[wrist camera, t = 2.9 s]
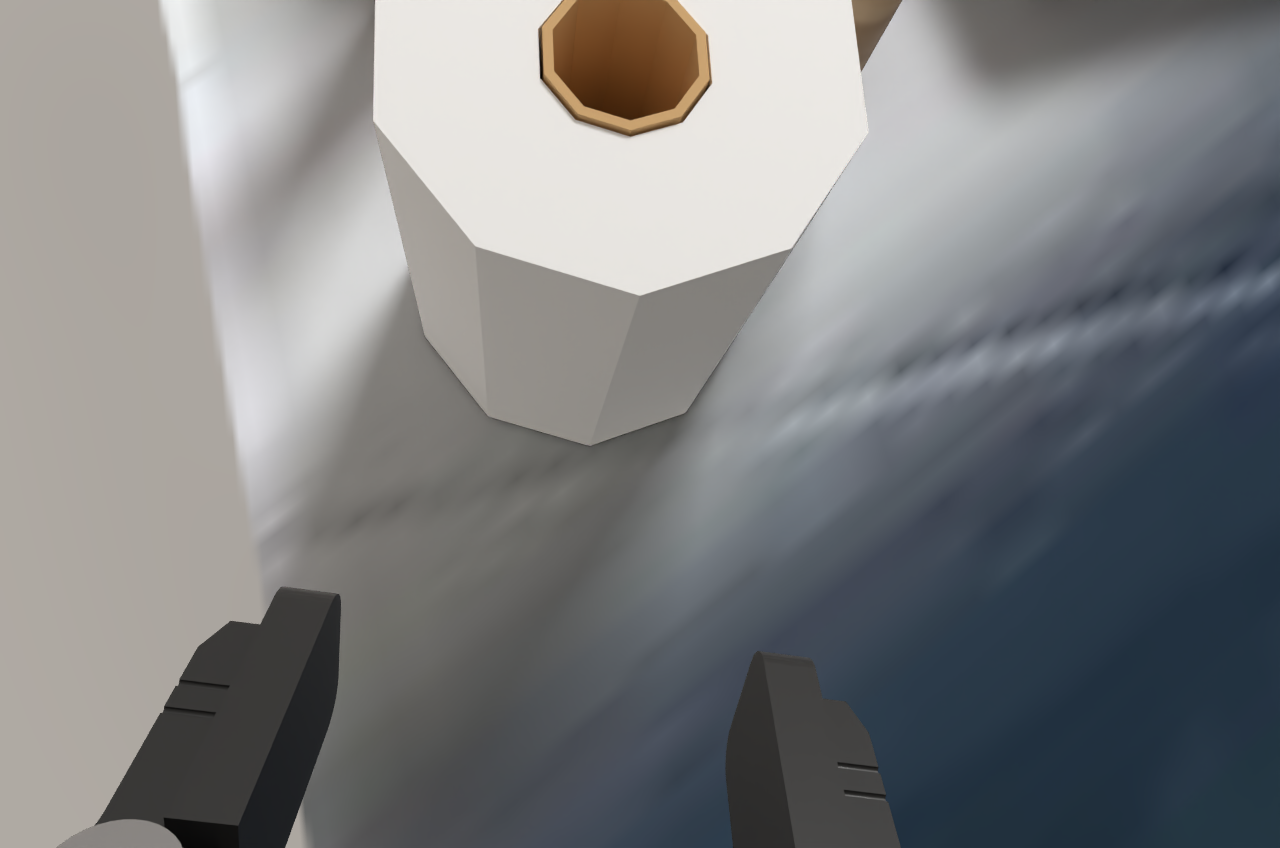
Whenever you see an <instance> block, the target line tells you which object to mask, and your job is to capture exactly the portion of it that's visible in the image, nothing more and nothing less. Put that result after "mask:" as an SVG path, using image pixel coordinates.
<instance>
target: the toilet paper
mask: <svg viewBox="0 0 1280 848" xmlns="http://www.w3.org/2000/svg"><path fill="white" fill-rule="evenodd" d="M373 122H374V126H375V130H376V135H377V139H378V143H379V147H380V151H381V156H382V160H383V164H384V168H385V172H386V176H387V181H388V185H389V189H390V193H391V197H392V201H393V206H394V210H395V214H396V218H397V222H398V226H399V231H400V235H401V239H402V243H403V247H404V251H405V256H406V260H407V264H408V268H409V272H410V276H411V281H412V285H413V289H414V293H415V297H416V302H417V306H418V310H419V314H420V318H421V322H422V327H423V331H424V335H425V337H426V338H427V340H428V341H429V342H430V343H431V345H432V346H433V347H434V349H435V350H436V351H437V352H438V354H439V355H440V356H441V357H442V359H443V360H444V361H445V362H446V364H447V365H448V366H449V368H450V369H451V370H452V371H453V373H454V374H455V375H456V376H457V378H458V379H459V380H460V381H461V383H462V384H463V385H464V387H465V388H466V389H467V390H468V392H469V393H470V394H471V395H472V397H473V398H474V399H475V400H476V402H477V403H478V404H479V406H480V407H481V408H482V409H483V411H484V412H485V413H486V414H487V416H488V417H492V418H495V419H498V420H502V421H505V422H509V423H512V424H516V425H519V426H523V427H526V428H529V429H533V430H536V431H540V432H543V433H547V434H550V435H554V436H557V437H560V438H564V439H567V440H571V441H574V442H578V443H581V444H584V445H588V446H591V445H594V444H597V443H600V442H602V441H605V440H608V439H611V438H614V437H617V436H620V435H623V434H626V433H629V432H632V431H634V430H637V429H640V428H643V427H646V426H649V425H652V424H655V423H658V422H661V421H664V420H666V419H669V418H672V417H675V416H678V415H681V414H684V413H686V411H687V410H688V408H689V407H690V405H691V404H692V402H693V401H694V399H695V398H696V396H697V395H698V393H699V392H700V390H701V389H702V387H703V386H704V384H705V383H706V381H707V380H708V378H709V377H710V375H711V374H712V372H713V371H714V369H715V368H716V366H717V365H718V363H719V362H720V360H721V359H722V357H723V356H724V354H725V353H726V351H727V350H728V348H729V347H730V345H731V343H732V342H733V340H734V339H735V337H736V336H737V334H738V333H739V331H740V330H741V328H742V327H743V325H744V324H745V322H746V321H747V319H748V317H749V316H750V314H751V313H752V311H753V310H754V308H755V307H756V305H757V304H758V302H759V301H760V299H761V297H762V296H763V294H764V293H765V291H766V290H767V288H768V287H769V285H770V284H771V282H772V281H773V279H774V277H775V276H776V274H777V273H778V271H779V270H780V268H781V267H782V265H783V264H784V262H785V260H786V259H787V257H788V256H789V254H790V253H791V251H792V250H793V248H794V247H795V245H796V244H797V242H798V240H799V239H800V237H801V236H802V234H803V233H804V231H805V230H806V228H807V227H808V225H809V223H810V222H811V220H812V219H813V217H814V216H815V214H816V213H817V211H818V210H819V208H820V207H821V205H822V203H823V202H824V200H825V199H826V197H827V196H828V194H829V193H830V191H831V190H832V188H833V187H834V185H835V183H836V182H837V180H838V179H839V177H840V176H841V174H842V173H843V171H844V170H845V168H846V166H847V165H848V163H849V162H850V160H851V159H852V157H853V156H854V154H855V153H856V151H857V150H858V148H859V146H860V145H861V143H862V142H863V140H864V139H865V137H866V136H867V134H868V133H869V131H868V124H867V116H866V108H865V101H864V93H863V85H862V78H861V70H860V62H859V55H858V47H857V39H856V32H855V24H854V16H853V9H852V1H851V0H375V39H374V96H373Z"/></svg>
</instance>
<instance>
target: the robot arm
mask: <svg viewBox="0 0 1280 848" xmlns="http://www.w3.org/2000/svg"><path fill="white" fill-rule="evenodd" d="M340 617H341V599H340V595H339V594H335V593H327V592H320V591H312V590H305V589H297V588H290V587H281V588H280V589H279V590H278V591H277V593H276V595H275V596H274V598H273V600H272V602H271V604H270V606H269V608H268V610H267V612H266V614H265V616H264V618H263V620H262V622H261V624H260V625H259V624H250V623H243V622H235V621H230V622H229V623H228V624H226V625H225V626H224V627H222V628H221V629H220V630H219V631H217V632H216V633H215V634H214V635H213V636H211V637H210V638H209V639H207V640H206V641H205V642H204V643H202V644H201V645H200V646H199V647H198V648H197V650H196V651H195V653H194V655H193V657H192V659H191V660H190V662H189V664H188V666H187V667H186V669H185V671H184V672H183V674H182V676H181V678H180V681H179V685H178V686H176V687H175V688H174V690H173V692H172V694H171V695H170V697H169V699H168V701H167V702H166V704H165V706H164V711H163V713H160V715H159V716H158V718H157V720H156V722H155V723H154V725H153V727H152V729H151V730H150V732H149V734H148V736H147V738H146V739H145V741H144V743H143V745H142V746H141V748H140V750H139V752H138V753H137V755H136V757H135V759H134V760H133V762H132V764H131V766H130V768H129V769H128V771H127V773H126V775H125V776H124V778H123V780H122V782H121V783H120V785H119V787H118V788H117V790H116V792H115V794H114V796H113V797H112V799H111V801H110V803H109V805H108V806H107V808H106V810H105V811H104V813H103V814H102V816H101V818H100V819H99V821H98V822H97V823H96V824H95V826H93V827H90V828H88V829H85V830H83V831H82V832H79V833H78V834H76V835H74V836H72V837H71V838H69V839H68V840H66V841H65V842H63V843H62V844H60V845H59V846H58V847H57V848H285V846H286V844H287V841H288V838H289V835H290V832H291V829H292V827H293V824H294V821H295V819H296V816H297V813H298V810H299V807H300V805H301V802H302V799H303V796H304V794H305V791H306V788H307V785H308V782H309V780H310V777H311V774H312V771H313V769H314V766H315V763H316V760H317V757H318V755H319V752H320V749H321V746H322V744H323V741H324V738H325V735H326V732H327V730H328V727H329V724H330V720H331V717H332V713H333V708H334V704H335V699H336V693H337V686H338V672H339V644H340ZM726 783H727V793H728V802H729V812H730V821H731V831H732V840H733V848H901V847H900V844H899V840H898V836H897V833H896V829H895V826H894V822H893V818H892V815H891V811H890V808H889V804H888V802H886V801H885V796H886V793H885V790H884V786H883V782H882V779H881V775H880V774H879V773H878V764H877V761H876V757H875V754H874V750H873V746H872V743H871V739H870V736H869V733H868V731H867V730H866V729H865V727H864V726H863V725H862V723H861V722H860V720H859V719H858V718H857V716H856V715H855V714H854V712H853V711H852V710H851V708H850V707H849V705H848V704H847V703H846V702H844V701H837V700H829V699H822V695H821V690H820V686H819V682H818V677H817V673H816V669H815V665H814V663H813V661H812V660H811V659H810V658H806V657H799V656H791V655H784V654H776V653H769V652H761V651H757V652H756V653H755V654H754V656H753V658H752V661H751V664H750V667H749V670H748V673H747V677H746V680H745V683H744V686H743V689H742V692H741V696H740V699H739V702H738V705H737V708H736V712H735V715H734V718H733V721H732V724H731V728H730V731H729V736H728V742H727V750H726Z"/></svg>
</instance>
